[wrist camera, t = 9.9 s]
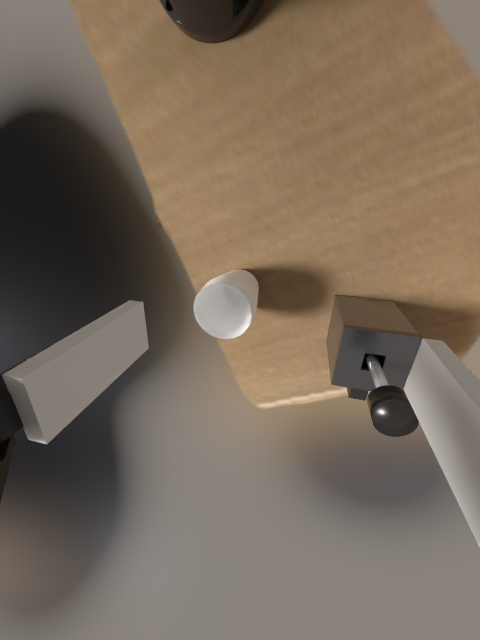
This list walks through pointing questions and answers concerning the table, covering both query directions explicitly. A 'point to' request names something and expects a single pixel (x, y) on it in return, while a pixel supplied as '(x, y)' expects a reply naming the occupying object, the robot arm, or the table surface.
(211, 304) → the cup
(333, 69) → the table surface
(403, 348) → the grey box with handle
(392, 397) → the plunger
